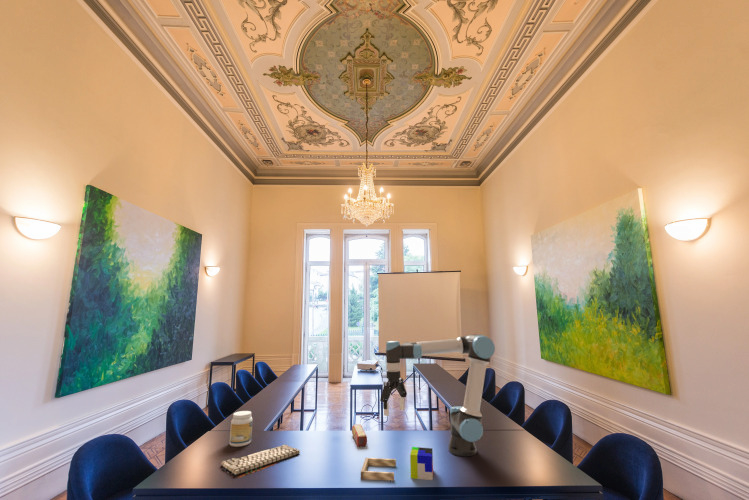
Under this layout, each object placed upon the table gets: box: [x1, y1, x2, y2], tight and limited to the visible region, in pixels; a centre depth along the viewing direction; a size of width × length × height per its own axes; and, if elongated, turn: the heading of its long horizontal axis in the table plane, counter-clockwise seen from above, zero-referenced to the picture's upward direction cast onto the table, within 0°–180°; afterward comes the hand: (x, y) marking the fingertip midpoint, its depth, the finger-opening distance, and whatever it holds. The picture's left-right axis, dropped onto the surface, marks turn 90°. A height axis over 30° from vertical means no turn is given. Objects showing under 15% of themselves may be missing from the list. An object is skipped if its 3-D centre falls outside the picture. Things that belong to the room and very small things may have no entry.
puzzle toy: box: [409, 446, 434, 481], centre depth 160 cm, size 10×10×10 cm
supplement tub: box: [229, 410, 253, 448], centre depth 200 cm, size 12×12×17 cm
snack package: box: [351, 423, 368, 448], centre depth 204 cm, size 21×7×7 cm, turn 11°
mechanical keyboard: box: [219, 444, 301, 478], centre depth 175 cm, size 38×19×3 cm, turn 138°
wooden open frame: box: [360, 457, 397, 482], centre depth 162 cm, size 16×16×3 cm
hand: (394, 412), depth 177 cm, fingers open, 13 cm apart
